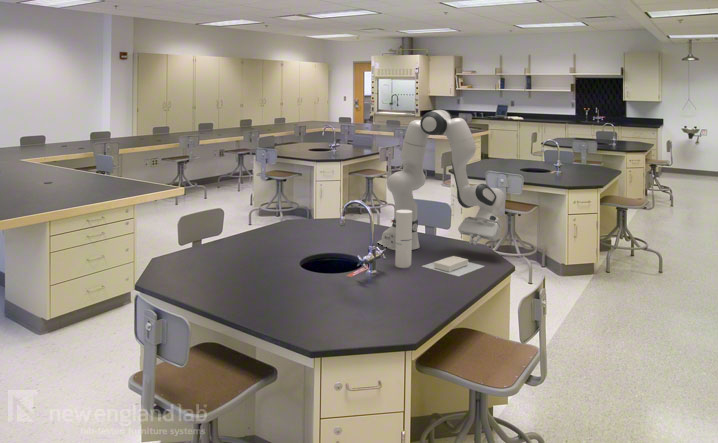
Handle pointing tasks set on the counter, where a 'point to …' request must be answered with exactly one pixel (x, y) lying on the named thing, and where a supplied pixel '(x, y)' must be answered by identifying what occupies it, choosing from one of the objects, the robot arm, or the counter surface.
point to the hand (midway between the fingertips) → (471, 243)
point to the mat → (459, 271)
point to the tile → (451, 263)
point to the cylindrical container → (403, 238)
